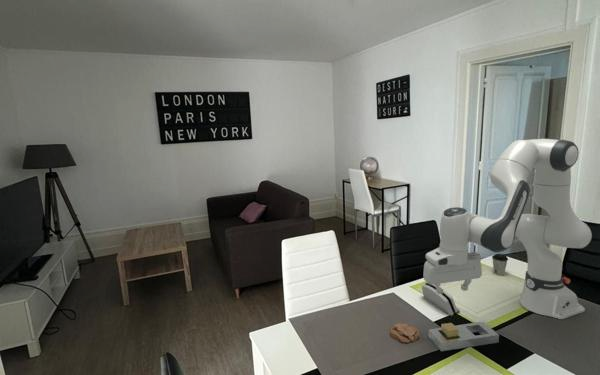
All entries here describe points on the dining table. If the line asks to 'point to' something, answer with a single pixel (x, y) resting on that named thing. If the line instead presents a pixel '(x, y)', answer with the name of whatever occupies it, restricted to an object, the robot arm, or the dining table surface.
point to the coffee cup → (499, 264)
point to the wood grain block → (449, 331)
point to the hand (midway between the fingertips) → (452, 291)
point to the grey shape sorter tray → (465, 336)
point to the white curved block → (440, 298)
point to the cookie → (404, 333)
